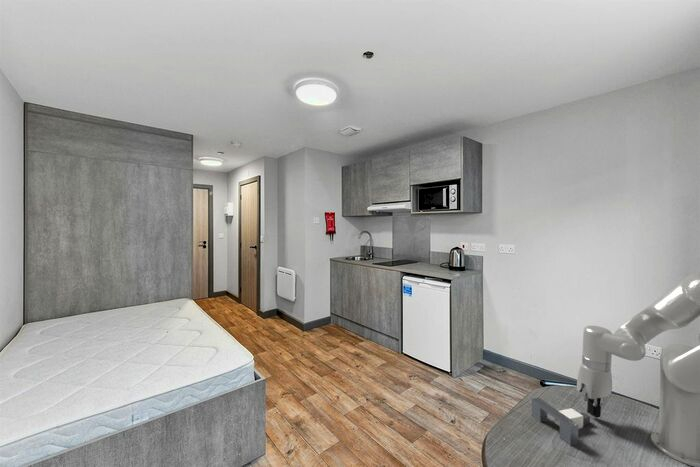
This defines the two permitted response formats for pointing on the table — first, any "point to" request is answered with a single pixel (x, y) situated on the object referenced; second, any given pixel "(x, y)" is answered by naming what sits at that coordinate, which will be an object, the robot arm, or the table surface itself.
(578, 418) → the plug
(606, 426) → the table surface
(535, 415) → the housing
